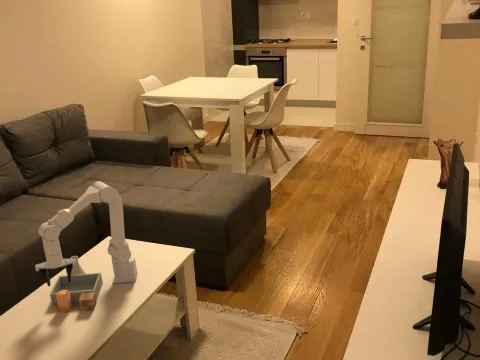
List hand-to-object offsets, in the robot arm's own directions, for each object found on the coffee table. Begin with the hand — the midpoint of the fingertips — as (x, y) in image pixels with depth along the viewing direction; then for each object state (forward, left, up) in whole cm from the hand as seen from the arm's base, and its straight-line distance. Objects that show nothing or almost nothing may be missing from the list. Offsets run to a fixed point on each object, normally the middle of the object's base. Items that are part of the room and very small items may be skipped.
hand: (59, 283), depth 203 cm
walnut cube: (-11, +3, -10) cm, 15 cm away
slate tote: (-4, -7, -10) cm, 12 cm away
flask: (-1, -19, -10) cm, 22 cm away
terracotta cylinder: (-2, +3, -10) cm, 10 cm away
